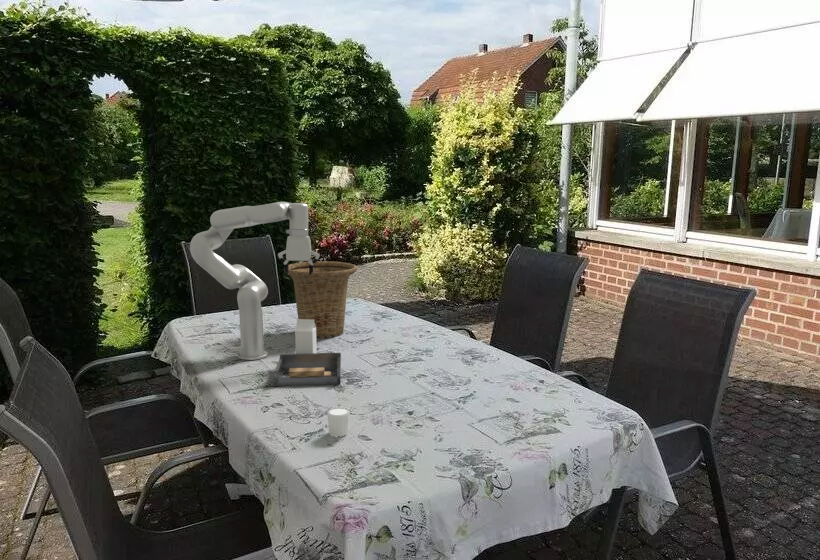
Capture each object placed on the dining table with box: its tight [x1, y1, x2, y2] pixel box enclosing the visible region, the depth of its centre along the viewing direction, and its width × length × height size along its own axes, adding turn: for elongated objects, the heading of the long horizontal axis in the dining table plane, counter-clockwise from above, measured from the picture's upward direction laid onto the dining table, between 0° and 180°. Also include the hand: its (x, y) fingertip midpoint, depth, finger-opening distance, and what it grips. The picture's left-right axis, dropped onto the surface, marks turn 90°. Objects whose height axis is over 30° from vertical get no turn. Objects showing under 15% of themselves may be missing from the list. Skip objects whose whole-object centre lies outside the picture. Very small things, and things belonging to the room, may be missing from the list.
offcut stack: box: [288, 367, 332, 377], centre depth 235 cm, size 16×5×5 cm, turn 95°
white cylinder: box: [326, 407, 351, 437], centre depth 190 cm, size 7×7×7 cm
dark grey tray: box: [274, 352, 342, 387], centre depth 241 cm, size 24×18×7 cm
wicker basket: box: [283, 260, 358, 339], centre depth 304 cm, size 35×35×33 cm
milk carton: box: [294, 318, 317, 354], centre depth 256 cm, size 7×7×19 cm
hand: (298, 273), depth 260 cm, fingers open, 9 cm apart
